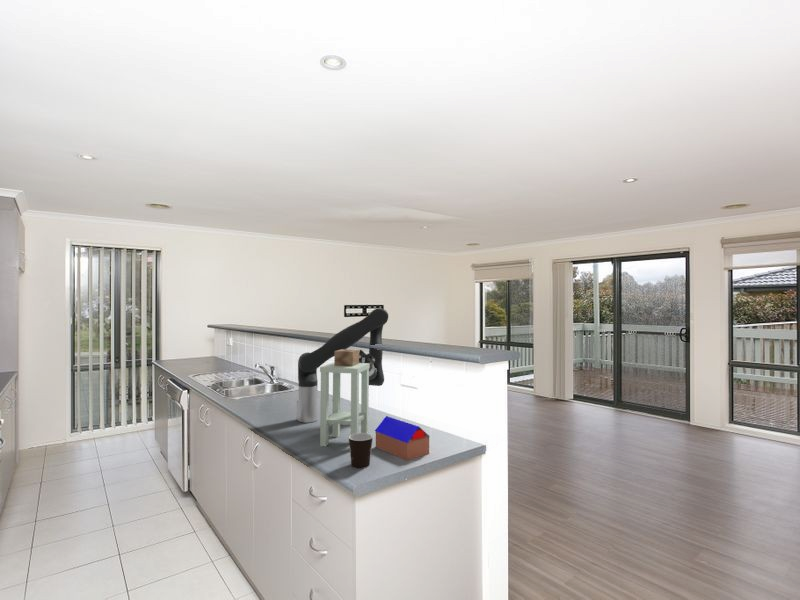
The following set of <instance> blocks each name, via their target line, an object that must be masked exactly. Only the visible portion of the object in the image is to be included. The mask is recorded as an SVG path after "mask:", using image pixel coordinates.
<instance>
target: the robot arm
mask: <svg viewBox="0 0 800 600" xmlns="http://www.w3.org/2000/svg"><path fill="white" fill-rule="evenodd" d="M388 320H389V313H388V311H387V310H386V309H385V308H381V307H380V308H379V307H378V308H375V309H373V310H371V312H370V313H369V314H367V316H365V317H364V318H363V319H361V320H359V321H358V322H355V323H353V324H351V325H349V326H347V327H345V328H344V329H342V330H340V331H339V332H337V333H335V334H334V335H333V336H332V337H330V338H329V339H328V340H327V341H326V342H325V343H324V344H323V345H322V346H320V347H319V348H317V349H314V350H313V351H311V352H304V353H302V354H301V355H300V356H299V358H298V360H297V378H298V379H297V381H298V383H297V384H298V393H297V394H298V397H297V398H298V400H297V401H296V420H297V421H298V422H300V423H307V424H308V423H314V422H317V421H318V385H319V384H318V383H319V382H318V373H317V372H318V369H319V368H320V367H322V366H323V365H324V364H325V363H326V362H327V361H329V360H331V359H332V358H333V357H334V353H335V351H337V350H341V349H349V348H350V347H352V346H353V345H355V344H356V343H357V342H359V341H360V340H361V339H362V338H364V337H365V336H366V335H367V334H369V346H370V345H375V344H382V345H383V336H382V335H383V330H384V326H385V324H386V323H387V322H388ZM359 350H360V352H359V355H360V356H361V358H359V363H370V368H369V386H372V387H373V386H375V387H381V386H382V385H383V384H384V383H385V374H384V370H383V349H382V350H377V349H374V348H369V349H368V350H369V351H368V353H366V352H365V351H363V350H362V349H359ZM359 374H361V372H360V373H359Z"/></svg>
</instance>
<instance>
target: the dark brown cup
mask: <svg viewBox="0 0 800 600" xmlns="http://www.w3.org/2000/svg"><path fill="white" fill-rule="evenodd" d="M373 438H374V437H373V434H369V433H368V434H366V433H361V432H359V433H357V434H352V435H351V434H350V435H349V436H348V445H349V453H350V455H349V456H350V463H351V467H352V466H353V467H352V468H354V467H356V468H355V469H365V468H364V467H366V468H368V467H369V466H370V462H371V455H372V446H373Z"/></svg>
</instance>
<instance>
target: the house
mask: <svg viewBox="0 0 800 600" xmlns="http://www.w3.org/2000/svg"><path fill="white" fill-rule="evenodd" d="M374 431H375V448H377V447H378V449H379V450H382V451H384V450H385V451H384V452H387V453H388V454H391V455H394V456H396V457H398V458H401V459H403V460H405V461H410V460H413V459H416V458H419V457H422V456H425V455H426V456H427V455H428V454H430V435H429V434H428V433H427V432H426V431H425V430H424V429H423V428H421V427H420V426H419V425H415V424H413V423H409V422H406V421H403V420H400V419H397V418H394V417H390V416H387V415H386V416H385V417H384V418H383V420H382V421H381V422H380V423H379V425H377V427H376V428H375V430H374Z"/></svg>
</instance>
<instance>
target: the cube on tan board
mask: <svg viewBox="0 0 800 600" xmlns="http://www.w3.org/2000/svg"><path fill="white" fill-rule="evenodd" d="M360 350H361V349H349V348H347V349H341V350H337V351H335V353H334V362H333V363H334V366H355V365H357V364H359V358H361V356H360V355H359V352H360Z"/></svg>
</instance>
